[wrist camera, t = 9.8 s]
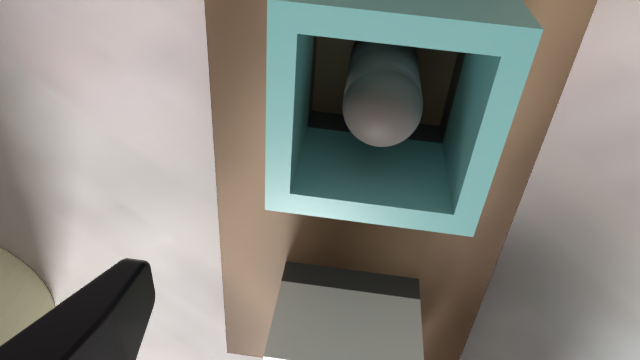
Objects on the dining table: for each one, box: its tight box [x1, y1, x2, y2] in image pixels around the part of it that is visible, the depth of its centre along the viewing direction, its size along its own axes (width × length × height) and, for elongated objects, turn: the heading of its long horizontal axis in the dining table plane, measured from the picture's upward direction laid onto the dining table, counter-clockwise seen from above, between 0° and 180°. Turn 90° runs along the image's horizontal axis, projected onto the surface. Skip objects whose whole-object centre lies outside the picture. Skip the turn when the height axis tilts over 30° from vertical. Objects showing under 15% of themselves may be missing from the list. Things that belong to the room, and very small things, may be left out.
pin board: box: [204, 0, 597, 360], centre depth 19 cm, size 12×22×6 cm, turn 176°
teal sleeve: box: [265, 0, 544, 237], centre depth 15 cm, size 6×6×5 cm
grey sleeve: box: [263, 261, 424, 360], centre depth 22 cm, size 6×6×5 cm
